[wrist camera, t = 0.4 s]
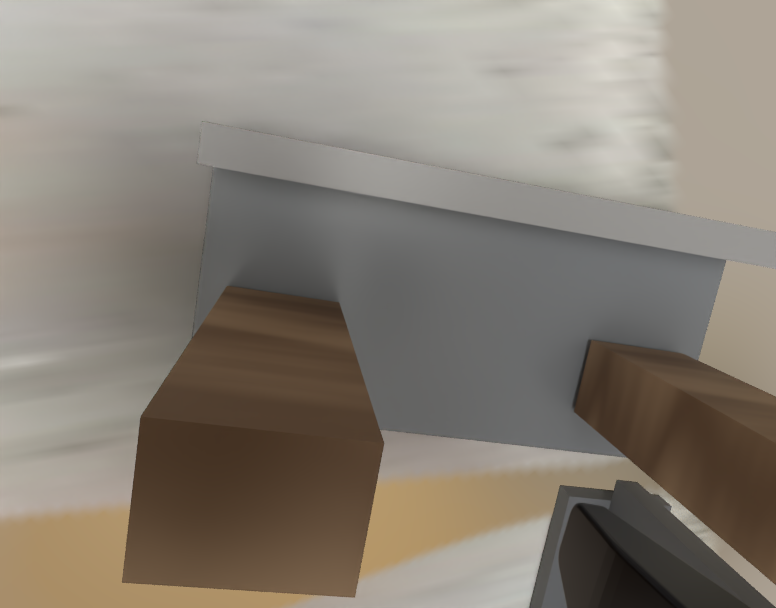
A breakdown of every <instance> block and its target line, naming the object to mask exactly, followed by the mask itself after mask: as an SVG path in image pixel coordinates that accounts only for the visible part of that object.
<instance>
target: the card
mask: <svg viewBox="0 0 776 608" xmlns="http://www.w3.org/2000/svg"><path fill="white" fill-rule="evenodd" d="M577 503H587V504H594V505H600V506H603V507H605V508H607V509H608V510H610V511H611V512H613V513H614V514H616V515H617V516H619V517H620V518H621V519H623V520H624V521H626V522H627V523H629V524H630V525H632V526H633V527H635V528H636V529H637V530H639V531H640V532H642V533H643V534H645V535H646V536H648V537H649V538H651V539H652V540H653V541H655V542H656V543H658V544H659V545H661V546H662V547H664V548H665V549H667V550H668V551H669V552H671V553H672V554H674V555H675V556H677V557H678V558H680V559H681V560H683V561H684V562H685V563H687V564H688V565H690V566H691V567H693V568H694V569H696V570H697V571H699V572H700V573H701V574H703V575H704V576H706V577H707V578H709V579H710V580H712V581H713V582H715V583H716V584H717V585H719V586H720V587H722V588H723V589H725V590H726V591H728V592H729V593H731V594H732V595H734V596H735V597H736V598H738V599H739V600H741V601H742V602H744V603H745V604H747V605H748V606H750V607H751V608H776V607H775V606H773V605H772V604H771V603H770V602H769V601H768V600H767V599H766V598H765V597H763V596H762V595H761V594H760V593H759V592H758V591H757V590H756V589H755V588H754V587H752V586H751V585H750V584H749V583H748V582H747V581H746V580H745V579H744V578H743V577H741V576H740V575H739V574H738V573H737V572H736V571H735V570H734V569H733V568H731V567H730V566H729V565H728V564H727V563H726V562H725V561H724V560H723V559H722V558H720V557H719V556H718V555H717V554H716V553H715V552H714V551H713V550H712V549H710V548H709V547H708V546H707V545H706V544H705V543H704V542H703V541H702V540H701V539H699V538H698V537H697V536H696V535H695V534H694V533H693V532H692V531H691V530H690V529H688V528H687V527H686V526H685V525H684V524H683V523H682V522H681V521H680V520H678V519H677V518H676V517H675V516H674V515H673V514H672V513H671V512H670V510H671V506H670V505H669V504H668V503H667V502H666V501H665V500H664V499H662V498H661V497H660V496H659V495H651V494H650V493H649V492H648V491H646V490H645V489H644V488H643V487H642V486H641V485H640V484H639V483H637V482H632V481H622V480H617V481H616V484H615V488H614V491H612V490H602V489H592V488H582V487H573V486H562V485H560V488H559V492H558V496H557V500H556V504H555V508H554V512H553V516H552V520H551V524H550V528H549V532H548V536H547V540H546V544H545V548H544V552H543V556H542V560H541V564H540V568H539V572H538V576H537V580H536V584H535V588H534V592H533V596H532V600H531V604H530V608H567V605H566V600H565V595H564V590H563V585H562V580H561V575H560V570H559V563H558V554H559V548H560V545H561V541H562V538H563V535H564V532H565V528H566V525H567V522H568V518H569V515H570V512H571V510H572V508H573V506H574V505H575V504H577Z"/></svg>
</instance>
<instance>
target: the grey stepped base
mask: <svg viewBox="0 0 776 608" xmlns="http://www.w3.org/2000/svg"><path fill="white" fill-rule="evenodd" d="M197 164H200V165H206V166H211V167H213V173H212V181H211V189H210V197H209V205H208V213H207V221H206V229H205V237H204V245H203V253H202V261H201V269H200V277H199V285H198V293H197V301H196V309H195V317H194V325H193V333H192V338H193V337H194V335H195V333H196V332H197V330H198V329H199V327H200V326H201V324H202V323H203V321H204V320H205V318H206V317H207V315H208V314H209V312H210V311H211V309H212V308H213V306H214V305H215V303H216V302H217V300H218V299H219V297H220V296H221V294H222V293H223V291H224V290H225V288H226V287H227V286H232V287H239V288H246V289H252V290H259V291H266V292H273V293H279V294H286V295H293V296H300V297H306V298H313V299H320V300H326V301H333V302H339V303H340V306H341V309H342V312H343V315H344V319H345V322H346V325H347V328H348V331H349V334H350V337H351V341H352V344H353V347H354V350H355V353H356V356H357V359H358V363H359V366H360V369H361V372H362V375H363V378H364V382H365V385H366V388H367V391H368V394H369V397H370V400H371V404H372V407H373V410H374V413H375V416H376V419H377V422H378V426H379V429H380V430H388V431H397V432H406V433H415V434H424V435H432V436H441V437H450V438H459V439H468V440H477V441H485V442H494V443H503V444H512V445H521V446H529V447H538V448H547V449H556V450H565V451H573V452H582V453H591V454H600V455H609V456H618V457H626V456H625V455H624V454H623V453H621V452H620V451H619V450H618V449H617V448H616V447H614V446H613V445H612V444H611V443H610V442H609V441H607V440H606V439H605V438H604V437H603V436H602V435H600V434H599V433H598V432H597V431H596V430H595V429H593V428H592V427H591V426H590V425H589V424H588V423H586V422H585V421H584V420H583V419H582V418H581V417H579V416H578V415H577V414H576V413H575V412H574V409H575V405H576V401H577V397H578V393H579V389H580V385H581V381H582V377H583V373H584V369H585V365H586V360H587V356H588V352H589V348H590V344H591V340H595V341H602V342H608V343H615V344H622V345H629V346H635V347H642V348H649V349H655V350H662V351H669V352H676V353H682V354H685V355H687V356H689V357H691V358H693V359H695V360H698V359H699V355H700V352H701V348H702V345H703V341H704V337H705V334H706V330H707V327H708V323H709V320H710V316H711V312H712V309H713V305H714V302H715V298H716V295H717V291H718V288H719V284H720V281H721V277H722V274H723V270H724V266H725V263H726V260H730V261H735V262H741V263H746V264H752V265H757V266H763V267H769V268H773V269H776V232H772V231H767V230H762V229H757V228H752V227H747V226H742V225H736V224H731V223H726V222H721V221H716V220H710V219H705V218H700V217H695V216H689V215H685V214H680V213H674V212H669V211H664V210H659V209H654V208H649V207H643V206H638V205H633V204H628V203H623V202H618V201H613V200H607V199H602V198H597V197H592V196H587V195H582V194H576V193H571V192H566V191H561V190H556V189H551V188H545V187H540V186H535V185H530V184H525V183H520V182H514V181H509V180H504V179H499V178H494V177H489V176H483V175H478V174H473V173H468V172H463V171H458V170H452V169H447V168H442V167H437V166H432V165H427V164H421V163H416V162H411V161H406V160H401V159H396V158H390V157H385V156H380V155H375V154H370V153H365V152H359V151H354V150H349V149H344V148H339V147H334V146H328V145H323V144H318V143H313V142H308V141H303V140H297V139H292V138H287V137H282V136H277V135H272V134H266V133H261V132H256V131H251V130H246V129H241V128H235V127H230V126H225V125H220V124H215V123H210V122H204V121H202V124H201V132H200V140H199V149H198V157H197ZM626 458H627V457H626Z"/></svg>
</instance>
